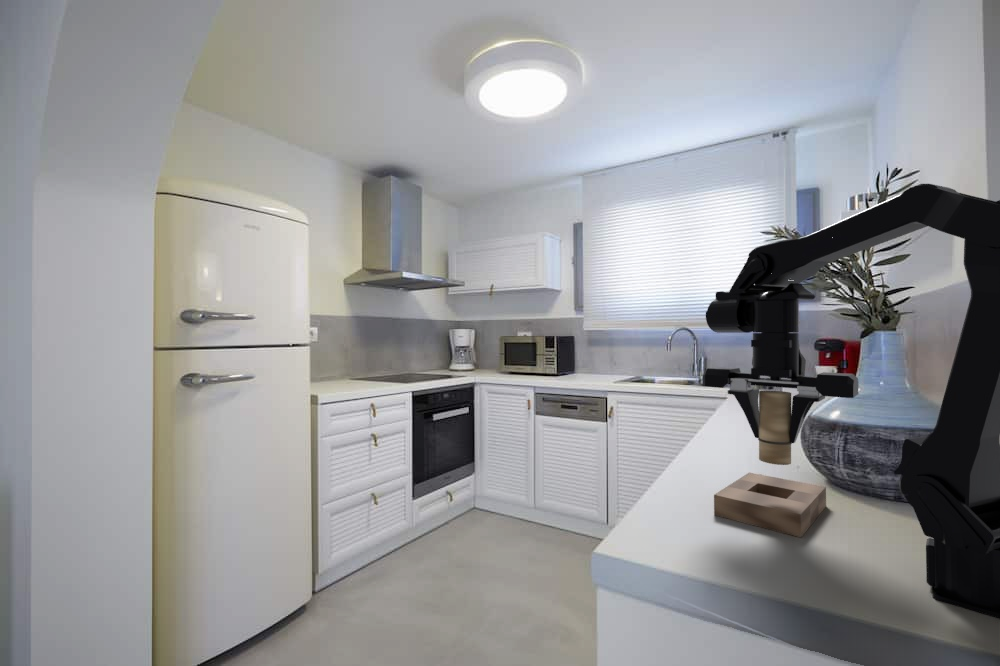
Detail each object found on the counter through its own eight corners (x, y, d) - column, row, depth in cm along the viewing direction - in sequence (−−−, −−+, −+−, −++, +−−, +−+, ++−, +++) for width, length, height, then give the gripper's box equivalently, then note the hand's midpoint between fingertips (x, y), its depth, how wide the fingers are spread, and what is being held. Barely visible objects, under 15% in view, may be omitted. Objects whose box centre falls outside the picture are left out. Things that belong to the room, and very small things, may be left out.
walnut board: (826, 506, 71) (825, 486, 71) (800, 537, 60) (800, 514, 60) (749, 489, 79) (749, 472, 79) (714, 514, 68) (713, 494, 68)
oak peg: (795, 460, 66) (795, 392, 66) (788, 466, 63) (788, 394, 63) (762, 455, 69) (762, 389, 69) (754, 460, 66) (754, 392, 66)
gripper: (863, 333, 65) (863, 441, 65) (725, 333, 78) (725, 423, 78) (852, 333, 57) (852, 456, 57) (701, 332, 70) (701, 433, 70)
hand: (774, 440), depth 66 cm, fingers closed on oak peg, 4 cm apart
